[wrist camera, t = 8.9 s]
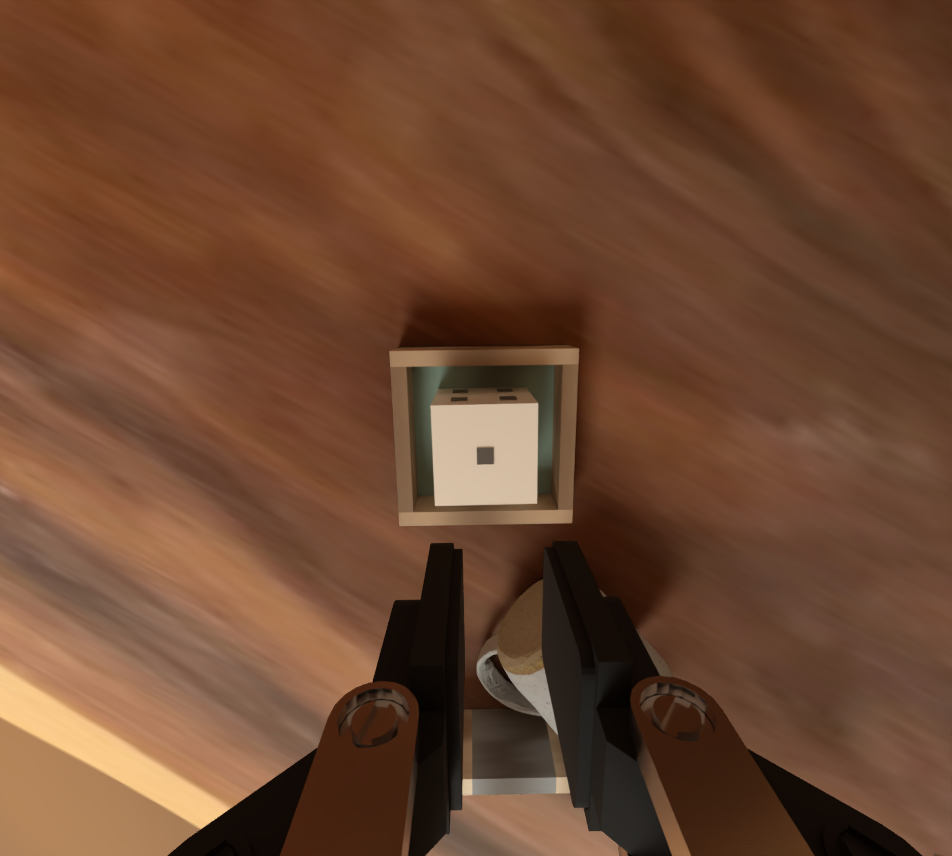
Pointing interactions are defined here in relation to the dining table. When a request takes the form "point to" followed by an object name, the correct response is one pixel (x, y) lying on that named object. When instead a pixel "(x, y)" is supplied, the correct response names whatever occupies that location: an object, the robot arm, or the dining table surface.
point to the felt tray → (485, 367)
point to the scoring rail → (510, 754)
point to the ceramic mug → (528, 658)
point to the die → (484, 446)
